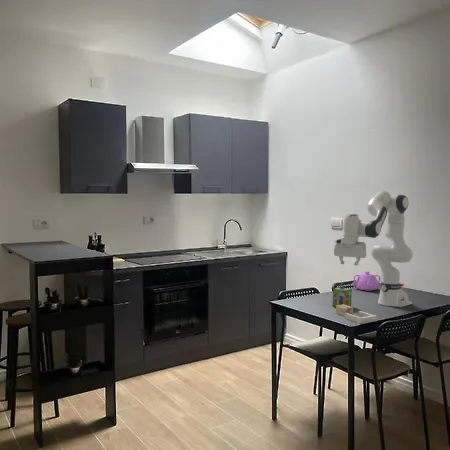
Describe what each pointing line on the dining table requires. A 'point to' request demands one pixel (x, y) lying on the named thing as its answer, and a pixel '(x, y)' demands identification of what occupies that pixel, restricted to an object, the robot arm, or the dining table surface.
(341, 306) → the cart block
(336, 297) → the chalk box
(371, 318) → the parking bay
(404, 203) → the robot arm
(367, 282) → the teapot
